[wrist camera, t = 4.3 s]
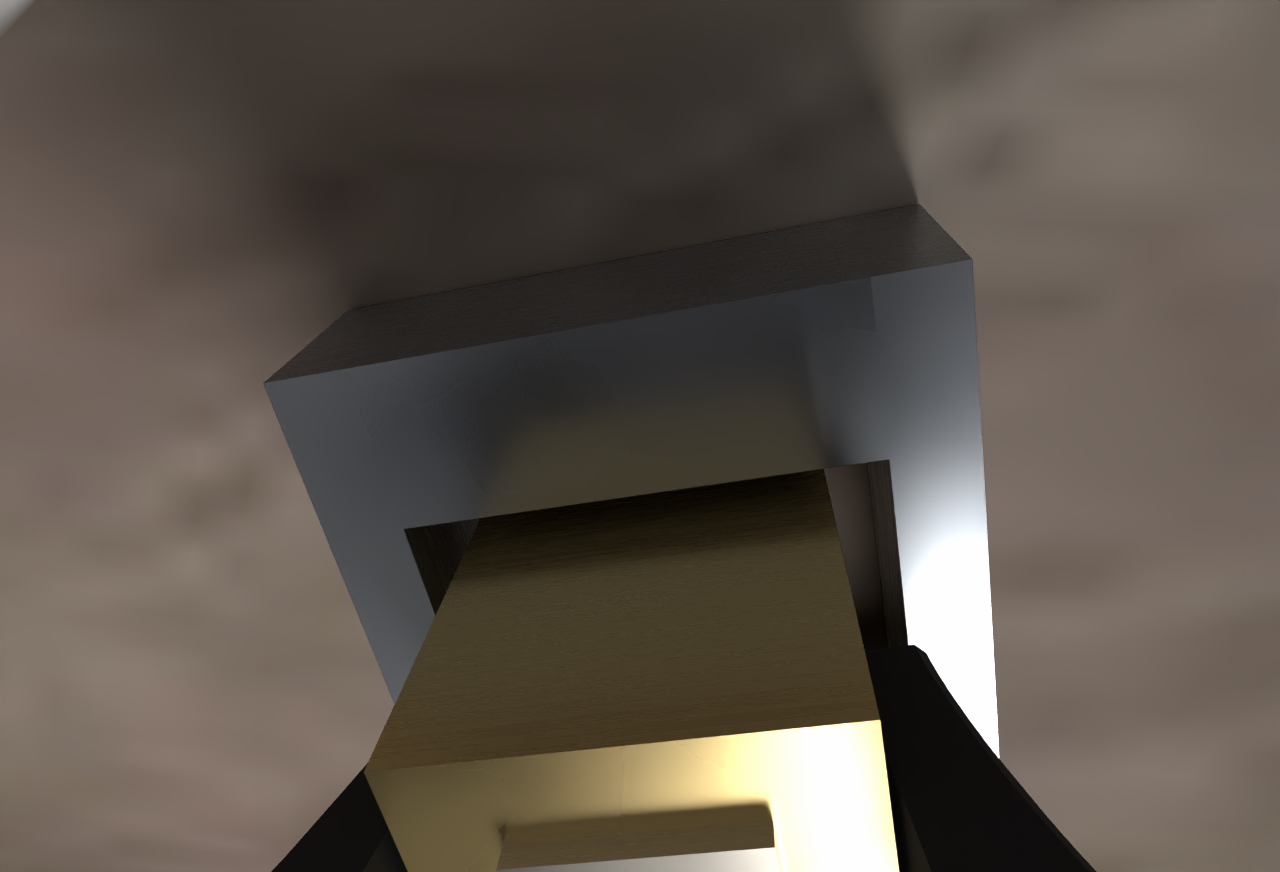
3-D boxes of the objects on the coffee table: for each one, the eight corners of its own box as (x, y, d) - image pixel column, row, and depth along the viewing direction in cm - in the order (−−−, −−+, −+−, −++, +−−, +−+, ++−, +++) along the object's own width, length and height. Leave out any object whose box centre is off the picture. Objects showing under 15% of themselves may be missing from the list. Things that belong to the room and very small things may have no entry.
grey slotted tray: (987, 1089, 17) (1025, 1244, 15) (629, 1102, 18) (617, 1248, 16) (919, 203, 10) (972, 259, 8) (348, 310, 11) (263, 384, 9)
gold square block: (850, 683, 13) (928, 1088, 8) (572, 713, 13) (492, 1106, 9) (813, 426, 11) (886, 745, 6) (500, 475, 12) (352, 796, 7)
